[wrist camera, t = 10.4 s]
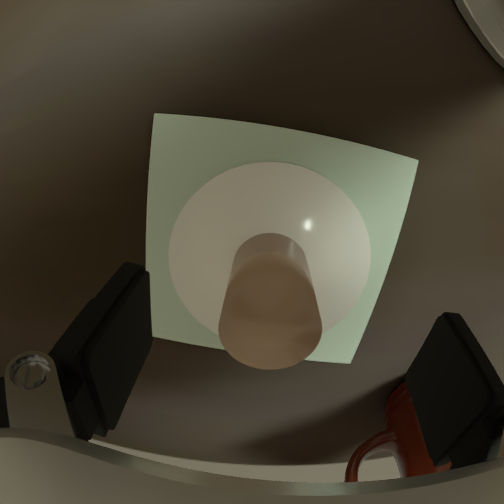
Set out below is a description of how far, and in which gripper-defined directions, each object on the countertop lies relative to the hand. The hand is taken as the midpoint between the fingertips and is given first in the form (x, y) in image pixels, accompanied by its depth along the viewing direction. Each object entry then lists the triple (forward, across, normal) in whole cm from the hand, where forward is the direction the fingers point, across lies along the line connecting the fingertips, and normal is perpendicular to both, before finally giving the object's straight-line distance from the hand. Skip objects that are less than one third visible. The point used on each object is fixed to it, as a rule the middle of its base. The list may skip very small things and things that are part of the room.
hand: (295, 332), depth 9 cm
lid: (+7, +1, +1) cm, 7 cm away
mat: (+8, +1, +1) cm, 8 cm away
